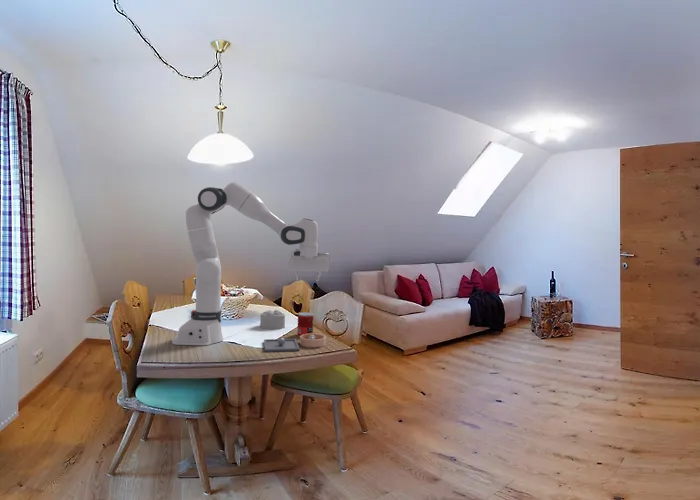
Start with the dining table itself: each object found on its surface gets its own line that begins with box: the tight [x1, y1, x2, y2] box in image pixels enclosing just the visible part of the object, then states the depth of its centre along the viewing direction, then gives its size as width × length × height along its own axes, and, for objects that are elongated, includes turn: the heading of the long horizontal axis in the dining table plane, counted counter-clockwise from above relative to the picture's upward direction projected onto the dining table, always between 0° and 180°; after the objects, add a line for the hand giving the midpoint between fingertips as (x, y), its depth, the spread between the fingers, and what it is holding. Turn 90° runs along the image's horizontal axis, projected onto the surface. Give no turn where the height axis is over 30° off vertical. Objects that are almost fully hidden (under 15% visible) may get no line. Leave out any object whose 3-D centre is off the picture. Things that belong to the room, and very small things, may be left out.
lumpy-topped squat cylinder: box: [259, 309, 286, 330], centre depth 227 cm, size 10×13×9 cm
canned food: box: [297, 311, 315, 337], centre depth 212 cm, size 8×8×11 cm
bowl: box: [299, 332, 327, 349], centre depth 196 cm, size 12×12×4 cm
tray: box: [263, 338, 300, 353], centre depth 190 cm, size 15×16×1 cm
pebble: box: [277, 337, 286, 345], centre depth 190 cm, size 3×3×3 cm
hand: (307, 280), depth 201 cm, fingers open, 8 cm apart
